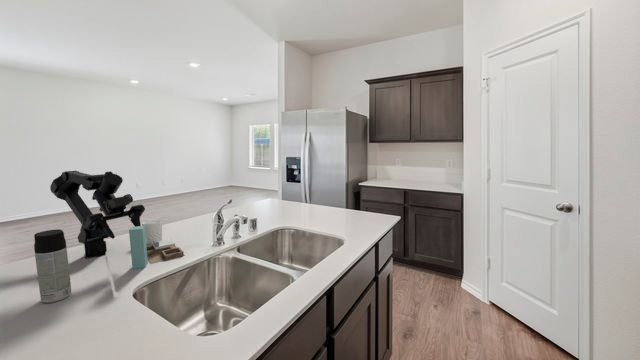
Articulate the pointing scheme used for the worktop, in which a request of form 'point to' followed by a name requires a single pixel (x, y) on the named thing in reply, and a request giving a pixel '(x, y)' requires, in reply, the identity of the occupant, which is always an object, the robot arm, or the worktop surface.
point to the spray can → (52, 265)
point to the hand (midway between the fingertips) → (127, 234)
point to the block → (138, 247)
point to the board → (163, 254)
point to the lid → (162, 243)
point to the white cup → (153, 230)
